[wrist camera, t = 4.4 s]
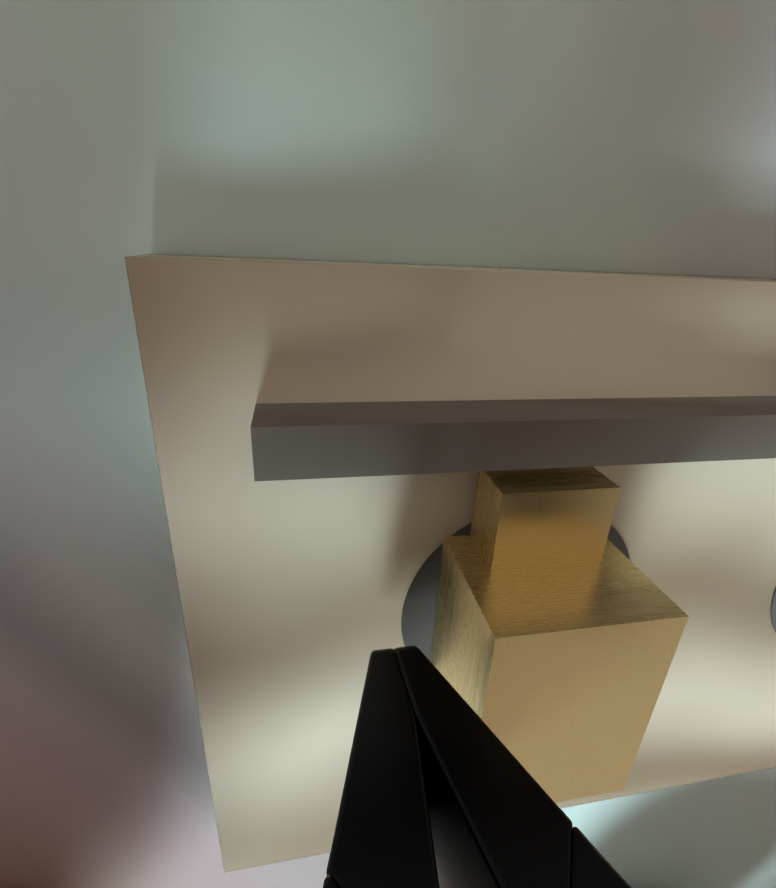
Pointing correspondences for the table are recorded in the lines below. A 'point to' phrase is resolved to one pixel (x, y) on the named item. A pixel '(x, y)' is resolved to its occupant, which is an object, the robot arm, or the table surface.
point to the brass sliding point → (554, 628)
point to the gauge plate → (444, 492)
